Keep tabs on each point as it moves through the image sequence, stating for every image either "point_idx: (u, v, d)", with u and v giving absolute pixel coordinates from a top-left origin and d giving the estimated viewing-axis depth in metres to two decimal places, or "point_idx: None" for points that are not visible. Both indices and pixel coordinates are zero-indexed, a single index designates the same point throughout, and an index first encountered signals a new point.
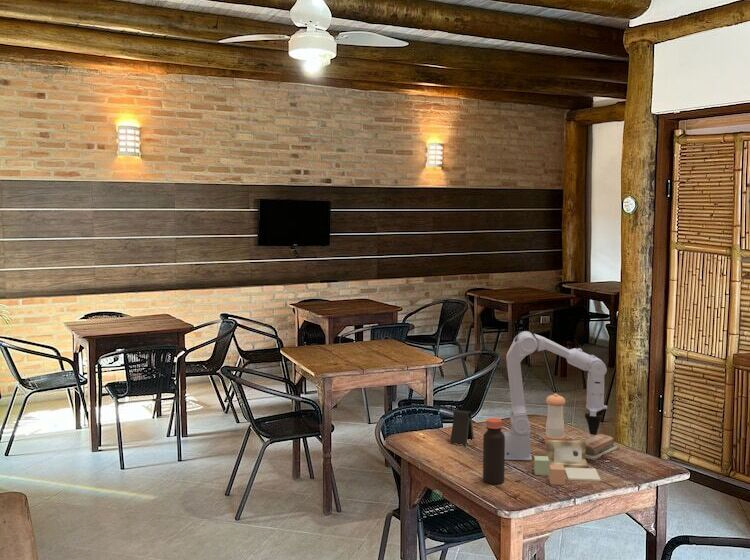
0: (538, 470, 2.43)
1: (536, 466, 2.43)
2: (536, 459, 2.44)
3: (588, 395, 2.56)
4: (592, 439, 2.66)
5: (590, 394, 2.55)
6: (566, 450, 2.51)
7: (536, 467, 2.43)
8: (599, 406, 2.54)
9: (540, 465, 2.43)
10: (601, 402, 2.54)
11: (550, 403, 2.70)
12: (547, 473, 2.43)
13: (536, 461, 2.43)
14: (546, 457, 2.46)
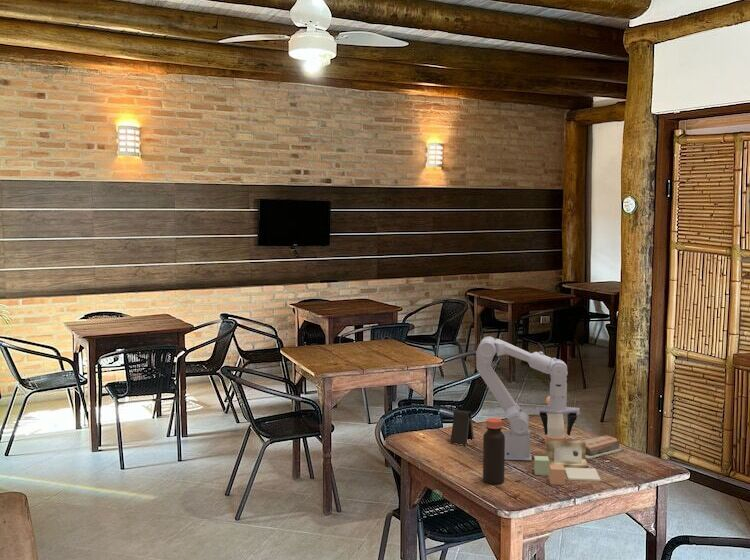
0: (538, 470, 2.43)
1: (536, 466, 2.43)
2: (536, 459, 2.44)
3: None
4: (593, 440, 2.66)
5: None
6: (566, 450, 2.51)
7: (536, 467, 2.43)
8: (551, 408, 2.55)
9: (540, 465, 2.43)
10: (553, 405, 2.54)
11: None
12: (547, 473, 2.43)
13: (536, 461, 2.43)
14: (546, 457, 2.46)
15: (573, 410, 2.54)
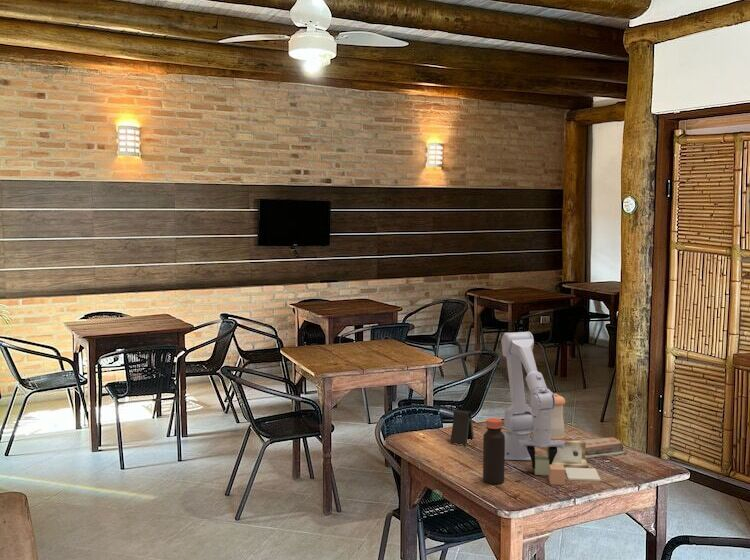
0: (538, 470, 2.43)
1: (536, 466, 2.43)
2: (536, 459, 2.44)
3: None
4: (594, 440, 2.65)
5: None
6: (566, 450, 2.51)
7: (536, 467, 2.43)
8: (535, 441, 2.43)
9: (540, 465, 2.43)
10: (537, 438, 2.42)
11: None
12: (547, 473, 2.43)
13: (536, 461, 2.43)
14: (546, 457, 2.46)
15: (558, 444, 2.43)
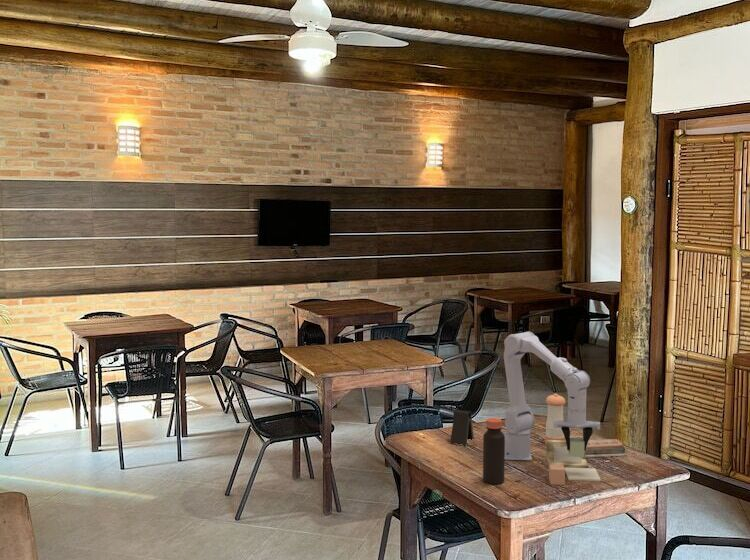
0: (573, 452, 2.40)
1: (571, 448, 2.40)
2: (571, 440, 2.41)
3: None
4: (595, 441, 2.65)
5: None
6: (566, 450, 2.51)
7: (571, 449, 2.40)
8: (570, 422, 2.40)
9: (575, 446, 2.40)
10: (572, 418, 2.39)
11: (550, 403, 2.70)
12: (582, 455, 2.40)
13: (571, 442, 2.40)
14: (581, 439, 2.43)
15: (593, 424, 2.40)
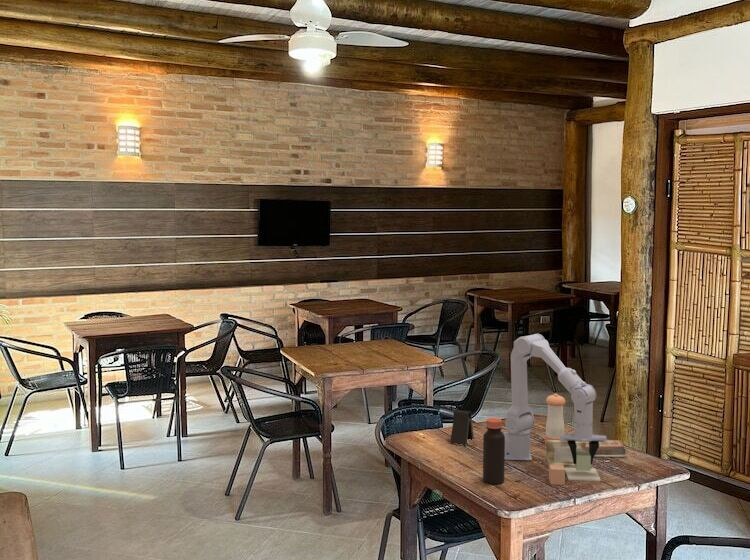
0: (579, 465, 2.40)
1: (577, 462, 2.40)
2: (577, 454, 2.41)
3: None
4: None
5: None
6: (566, 450, 2.51)
7: (577, 462, 2.40)
8: (576, 436, 2.40)
9: (582, 460, 2.40)
10: (578, 432, 2.39)
11: (550, 403, 2.70)
12: (589, 468, 2.40)
13: (577, 456, 2.40)
14: (587, 452, 2.43)
15: (599, 438, 2.40)
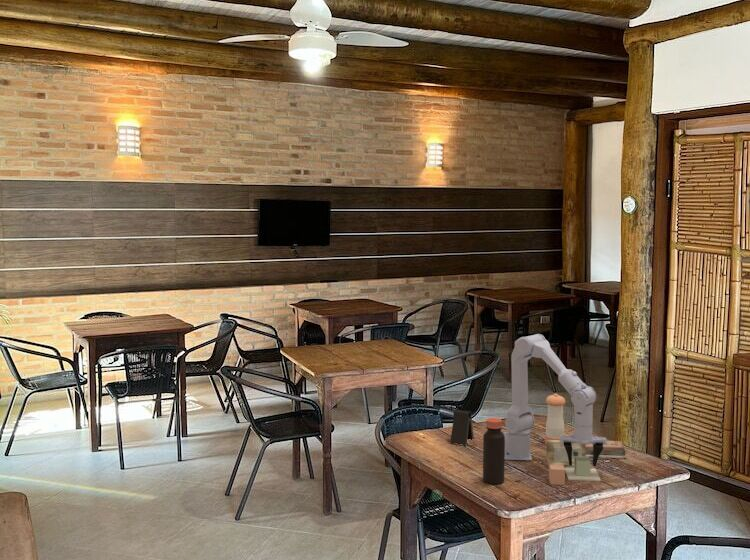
0: (579, 471, 2.40)
1: (577, 467, 2.40)
2: (577, 460, 2.41)
3: None
4: None
5: None
6: None
7: (577, 468, 2.40)
8: (576, 437, 2.40)
9: (581, 466, 2.40)
10: (578, 434, 2.40)
11: (550, 403, 2.70)
12: (588, 474, 2.40)
13: (577, 462, 2.40)
14: (587, 458, 2.43)
15: (599, 440, 2.40)
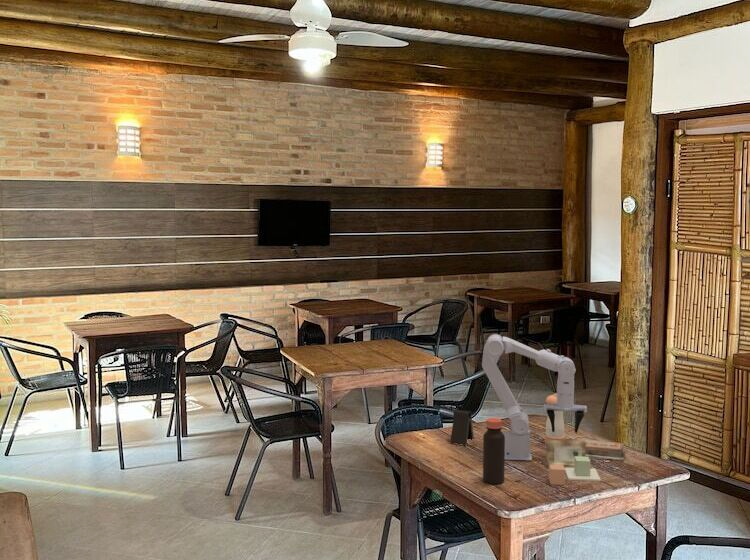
0: (579, 471, 2.40)
1: (577, 467, 2.40)
2: (577, 460, 2.41)
3: None
4: (596, 442, 2.64)
5: None
6: (566, 450, 2.51)
7: (577, 468, 2.40)
8: (558, 405, 2.55)
9: (581, 466, 2.40)
10: (560, 402, 2.54)
11: (550, 403, 2.70)
12: (588, 474, 2.40)
13: (577, 462, 2.40)
14: (587, 458, 2.43)
15: (580, 408, 2.54)
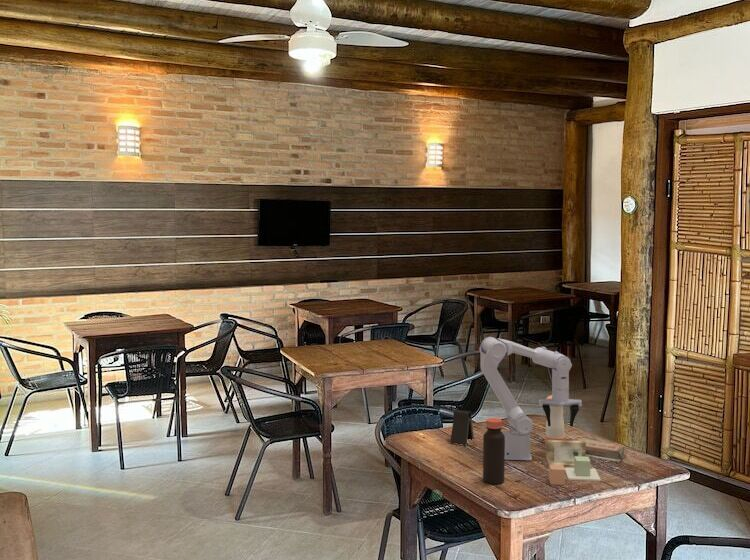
0: (579, 471, 2.40)
1: (577, 467, 2.40)
2: (577, 460, 2.41)
3: None
4: (596, 442, 2.63)
5: None
6: (566, 450, 2.51)
7: (577, 468, 2.40)
8: (554, 400, 2.60)
9: (581, 466, 2.40)
10: (556, 397, 2.59)
11: None
12: (588, 474, 2.40)
13: (577, 462, 2.40)
14: (587, 458, 2.43)
15: (575, 402, 2.60)
